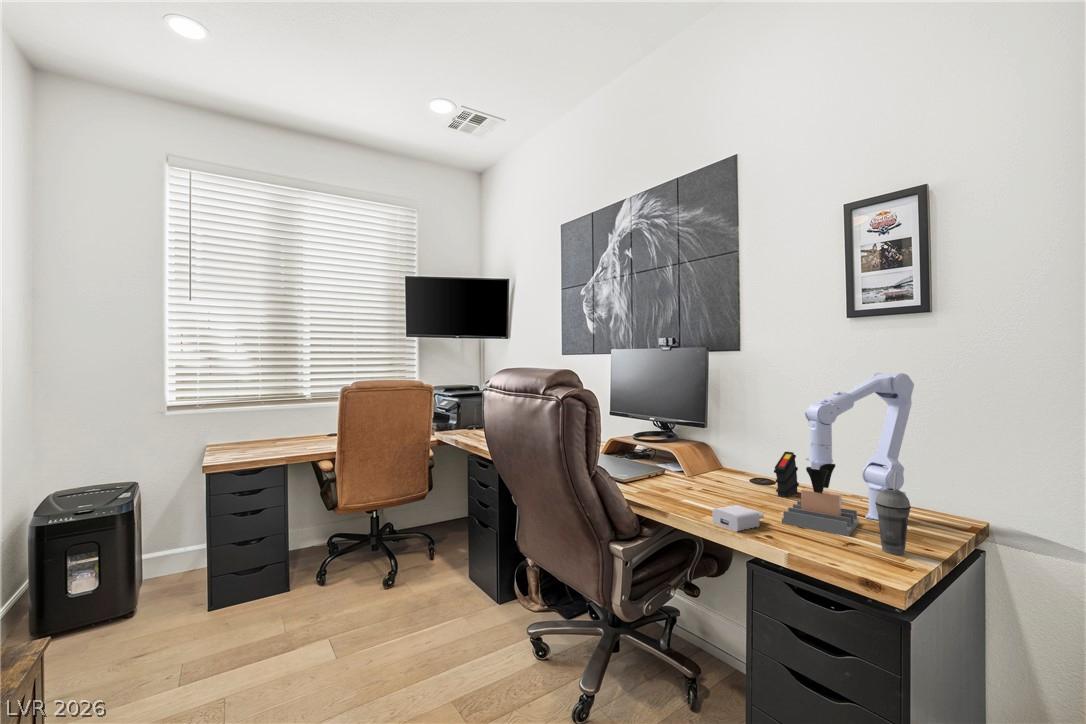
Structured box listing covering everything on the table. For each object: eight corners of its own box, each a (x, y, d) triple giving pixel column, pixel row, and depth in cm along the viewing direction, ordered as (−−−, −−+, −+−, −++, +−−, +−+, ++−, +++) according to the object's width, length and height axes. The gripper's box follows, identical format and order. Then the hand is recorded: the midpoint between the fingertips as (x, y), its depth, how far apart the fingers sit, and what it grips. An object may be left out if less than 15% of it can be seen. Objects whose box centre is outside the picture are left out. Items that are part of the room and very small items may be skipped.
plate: (841, 521, 143) (841, 493, 143) (839, 523, 141) (839, 495, 141) (803, 514, 149) (803, 488, 150) (801, 516, 148) (801, 489, 148)
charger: (774, 525, 144) (737, 533, 137) (748, 516, 152) (712, 523, 145) (774, 509, 144) (737, 516, 137) (748, 501, 152) (712, 507, 146)
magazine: (802, 486, 183) (795, 452, 178) (789, 508, 175) (782, 472, 170) (791, 484, 186) (784, 450, 181) (778, 506, 177) (771, 471, 173)
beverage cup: (896, 546, 127) (895, 467, 127) (919, 557, 119) (918, 474, 120) (868, 546, 126) (868, 468, 127) (889, 557, 119) (888, 474, 119)
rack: (859, 523, 145) (858, 510, 145) (848, 536, 134) (848, 523, 134) (796, 511, 157) (796, 500, 157) (781, 523, 145) (781, 510, 145)
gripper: (811, 440, 155) (812, 483, 155) (799, 445, 144) (800, 492, 144) (837, 442, 151) (838, 486, 151) (826, 448, 140) (827, 496, 140)
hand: (821, 489), depth 147 cm, fingers open, 7 cm apart
